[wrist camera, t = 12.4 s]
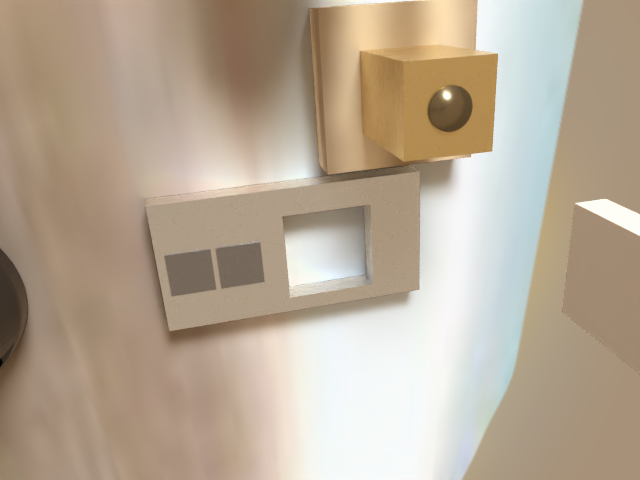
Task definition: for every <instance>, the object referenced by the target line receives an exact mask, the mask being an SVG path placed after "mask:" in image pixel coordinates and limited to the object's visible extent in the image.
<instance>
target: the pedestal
mask: <svg viewBox="0 0 640 480" xmlns="http://www.w3.org/2000/svg"><path fill="white" fill-rule="evenodd" d="M309 14H310V29H311V45H312V60H313V76H314V91H315V106H316V122H317V137H318V153H319V165H320V166H321V168H322V169H323V170H324V171H325V172H326V173H327V174H328V175H330V174H338V173H346V172H354V171H362V170H370V169H378V168H386V167H394V166H402V165H410V164H418V163H426V162H434V161H442V160H450V159H458V158H465V157H471V154H465V155H456V156H448V157H440V158H431V159H423V160H414V161H406V162H403V161H402V160H400V159H399V158H398V157H396V156H395V155H393V154H392V153H390V152H389V151H388V150H386V149H385V148H383V147H382V146H380V145H379V144H378V143H376V142H375V141H373V140H372V139H370V138H369V137H368V136H366V135H365V134H363V133H362V101H361V66H360V51H362V50H375V49H387V48H400V47H412V46H424V45H437V44H438V45H445V46H451V47H458V48H464V49H471V50H475V48H476V24H477V0H417V1H403V2H389V3H375V4H361V5H347V6H333V7H319V8H309Z"/></svg>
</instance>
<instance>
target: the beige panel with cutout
mask: <svg viewBox="0 0 640 480" xmlns="http://www.w3.org/2000/svg"><path fill="white" fill-rule="evenodd" d="M356 206H364V219H365V248H366V275H360V276H354V277H347V278H341V279H335V280H329V281H322V282H316V283H310V284H303V285H297V286H291V287H289V281H288V271H287V260H286V249H285V239H284V228H283V216H290V215H298V214H305V213H312V212H320V211H327V210H334V209H342V208H349V207H356ZM145 207H146V212H147V217H148V223H149V228H150V233H151V238H152V244H153V249H154V254H155V259H156V264H157V270H158V275H159V280H160V285H161V290H162V296H163V301H164V306H165V311H166V316H167V322H168V327H169V331H174V330H180V329H186V328H192V327H198V326H204V325H210V324H216V323H222V322H228V321H234V320H240V319H246V318H252V317H258V316H264V315H270V314H276V313H282V312H288V311H294V310H300V309H306V308H312V307H318V306H324V305H330V304H336V303H342V302H348V301H354V300H360V299H366V298H372V297H378V296H384V295H390V294H396V293H402V292H408V291H414V290H419V251H420V171H419V170H417V169H416V168H414V167H413V166H411V165H409V166H401V167H393V168H385V169H377V170H370V171H362V172H354V173H346V174H338V175H330V176H322V177H314V178H306V179H298V180H290V181H282V182H274V183H266V184H258V185H250V186H242V187H234V188H226V189H218V190H210V191H202V192H194V193H186V194H178V195H170V196H162V197H154V198H147V200H146V206H145Z"/></svg>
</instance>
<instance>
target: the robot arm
mask: <svg viewBox="0 0 640 480" xmlns="http://www.w3.org/2000/svg"><path fill="white" fill-rule="evenodd" d="M562 312H563V313H564V314H565V315H566V316H568V317H569V318H570V319H571V320H572V321H574V322H575V323H576V324H577V325H579V326H580V327H581V328H582V329H584V330H585V331H586V332H587V333H589V334H590V335H591V336H592V337H594V338H595V339H596V340H597V341H599V342H600V343H601V344H602V345H604V346H605V347H606V348H607V349H609V350H610V351H611V352H612V353H614V354H615V355H616V356H617V357H618V358H620V359H621V360H622V361H623V362H625V363H626V364H627V365H628V366H630V367H631V368H632V369H633V370H635V371H636V372H637V373H638V374H640V214H638V213H636V212H633V211H631V210H629V209H627V208H624V207H622V206H620V205H618V204H616V203H614V202H611V201H609V200H607V199H601V200H595V201H588V202H581V203H575V206H574V214H573V223H572V231H571V240H570V249H569V257H568V266H567V274H566V282H565V291H564V299H563V308H562ZM27 314H28V303H27V295H26V291H25V287H24V284H23V281H22V279H21V277H20V275H19V273H18V271H17V269H16V268H15V266H14V265H13V263H12V262H11V260H10V259H9V258H8V257H7V255H6V254H5V253H4V252H3V251H2V250H1V249H0V370H1V369H2V367H3V366H4V365H5V364H6V363H7V361H8V360H9V359H10V357H11V356H12V354H13V352H14V350H15V348H16V346H17V344H18V342H19V340H20V338H21V336H22V334H23V331H24V328H25V325H26V321H27Z"/></svg>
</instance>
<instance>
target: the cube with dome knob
mask: <svg viewBox="0 0 640 480" xmlns="http://www.w3.org/2000/svg"><path fill="white" fill-rule="evenodd" d="M497 62H498V54H497V53H490V52H484V51H477V50H471V49H464V48H458V47H451V46H445V45H438V44H437V45H424V46H412V47H400V48H387V49H375V50H362V51H360V66H361V101H362V133H363V134H365V135H366V136H368V137H369V138H370V139H372V140H373V141H375V142H376V143H378V144H379V145H380V146H382V147H383V148H385V149H386V150H388V151H389V152H390V153H392V154H393V155H395V156H396V157H398V158H399V159H400V160H402V161H403V162H406V161H414V160H423V159H431V158H440V157H448V156H456V155H465V154H473V153H482V152H490V151H492V144H493V128H494V112H495V95H496V79H497Z"/></svg>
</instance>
